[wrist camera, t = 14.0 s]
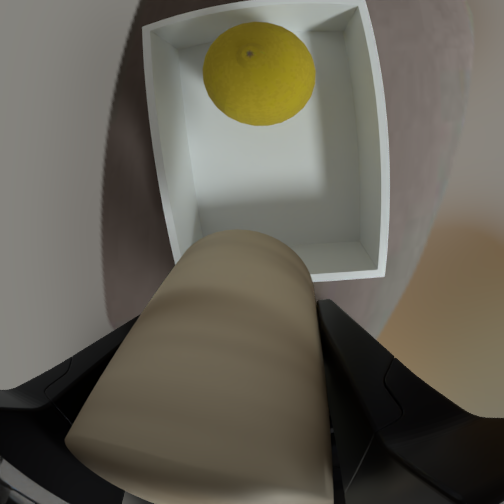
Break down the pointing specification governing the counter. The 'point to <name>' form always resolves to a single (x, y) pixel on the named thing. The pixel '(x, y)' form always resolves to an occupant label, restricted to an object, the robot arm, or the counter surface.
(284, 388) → the birch peg
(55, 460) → the robot arm
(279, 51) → the lemon
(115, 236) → the counter surface
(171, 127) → the tote
